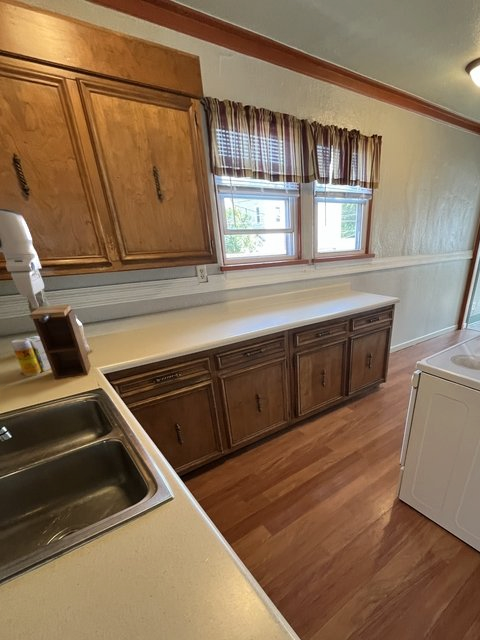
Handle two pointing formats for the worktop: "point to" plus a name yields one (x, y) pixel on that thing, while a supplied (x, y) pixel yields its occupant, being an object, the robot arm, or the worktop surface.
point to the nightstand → (63, 346)
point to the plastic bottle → (83, 336)
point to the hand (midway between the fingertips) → (38, 305)
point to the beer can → (26, 357)
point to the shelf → (50, 312)
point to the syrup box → (39, 353)
